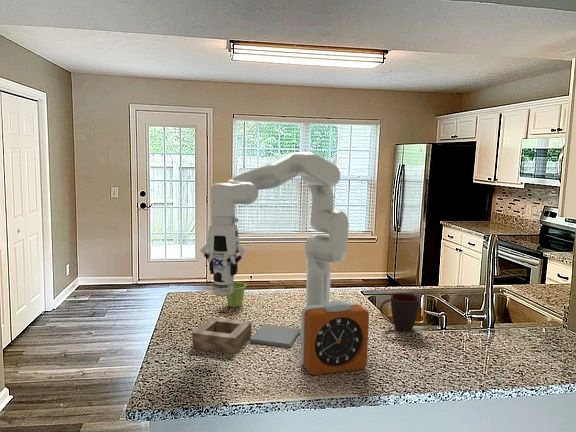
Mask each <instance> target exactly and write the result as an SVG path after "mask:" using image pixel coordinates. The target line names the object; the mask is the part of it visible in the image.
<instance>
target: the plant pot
mask: <svg viewBox="0 0 576 432" xmlns="http://www.w3.org/2000/svg"><path fill="white" fill-rule="evenodd" d="M246 287H247V284H246V283H244V282H239V281H234V291H233V294H232V295H228V296H226V301H227V306H229V307H232V308H236V307H241V306H243V301H244V295H245V290H246Z"/></svg>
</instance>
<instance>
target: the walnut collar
mask: <svg viewBox="0 0 576 432" xmlns="http://www.w3.org/2000/svg"><path fill="white" fill-rule="evenodd" d="M191 337H192V338H191V339H192V340H191V341H192V348H194V349H199V350H200V349H202V350H209V351H214V352H215V351H216V352H221V351H222V353H230V354H236V353H237V352H238V351H240V349H241V348H242V347H243V345H244V344H245V343H247V342H248V340H250V338H251V337H252V321H248V320H247V321H246V320H240V319H230V318H229V319H228V318H220V317H211V318H209V319H208V320H207V321H206V322H204V323H203V324H201V325H200V326H199V327H197V328H196V329H195V330H194V331H193V332H192V336H191Z"/></svg>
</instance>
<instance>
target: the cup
mask: <svg viewBox="0 0 576 432" xmlns="http://www.w3.org/2000/svg"><path fill="white" fill-rule="evenodd" d="M386 303H387V304H388V303H390V307H391V308H390V309H391V316H392V320H390V319H388V318H387V317H386V316H385V315H384V312H383V309H382V308H383V307H384V305H385V304H386ZM419 306H420V298H419V297H418V296H417V295H416V294H412V293H402V292H401V293H399V292H398V293H391V295H390V298H388V299H385V300H384V301H382V302H381V304H380V306H379V311H380V314H381V317H383V318H384V320H386V321H387V322H388V323H389V324H392V325H394V328H395V330H396V331H398V332H406V333H407V332H412V331H413V328H414V326H415V323H416V321H417V317H418V313H419Z"/></svg>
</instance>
